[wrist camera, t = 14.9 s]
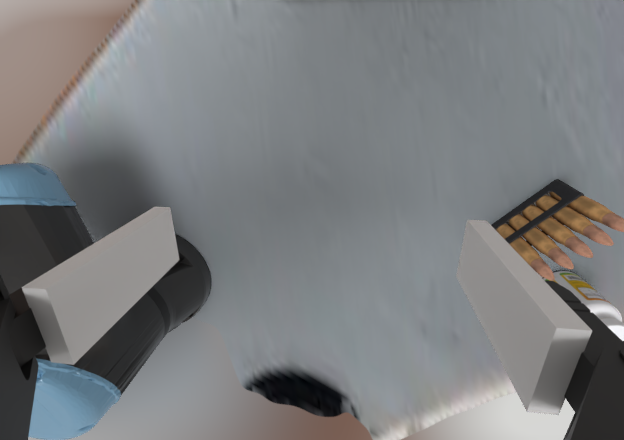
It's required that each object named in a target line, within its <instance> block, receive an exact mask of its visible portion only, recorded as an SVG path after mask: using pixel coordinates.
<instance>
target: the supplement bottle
mask: <svg viewBox="0 0 624 440" xmlns="http://www.w3.org/2000/svg"><path fill="white" fill-rule="evenodd" d="M553 274H554V278H555V280H554V282H556V283H558V284H559V285H561V286H563V287H565V288H566V289H568V290H570V291H571V292H572V293H573V294H574V295H575V296H576V297H577V298H578V299H579V300H580V301H581V303H583V304H584V305H585V306H586V307H588V308H589V309H590V312H591V313H594V314H595V315H596V316H597V317H598V318H599V319H600V320H601V321H602V322H603V323H604V324H605V325H606V326H607V327H608V328H609V329H610V330H611V331H612V332H614V333H615V334H616V335H617V336H618V337H619V338H620V339H621V340H622V341H624V323H623V322H622V317H621V314H620V312H619V311H618V310H617V309H616V308H615V307H614V306H613V305H612V304H611V303H610V302H609V301H607V300H606V299H605V298H604V297H603V296H602V295H600V294H599V293H598V292H597V291H596V290H595V289H593V288H592V287H591V286H590V285H589V284H588V283H587V282H585V281H584V280H583V279H582V278H580V277H579V276H578V275H576V274H575V273H572V272H568V271H558V272H554V273H553ZM543 280H544V281H551V280H548V279H546V278H543Z"/></svg>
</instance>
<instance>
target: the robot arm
mask: <svg viewBox="0 0 624 440" xmlns="http://www.w3.org/2000/svg"><path fill="white" fill-rule="evenodd" d="M75 206H76V203H75V201H72V200H71V199H70V197H69V195H68V194H67V192H66V190H65V189H64V187H63V185H62V184H61V182H60V180H59V179H58V177H57V175H56V174H55V173H54V172H53V171H52V170H51V169H49V168H48V167H46V166H43V165H40V164H36V163H17V164H6V165H0V440H28V437H33V438H37V439H44V440H65V439H71V438H74V437H78V436H80V435H82V434H84V433H86V432H88V431H89V430H90V429H92V428H93V427H94V426H95V425H96V424H97V423H98V421H99V420H100V419H101V418H102V417H103V416H104V414H105V413H106V412H107V411H108V410H109V409H110V408H111V406H112V405H113V404H115V403H116V402H117V401H118V400H119V398H120V397H121V395H122V393H123V392H124V391H125V389H126V388H127V386H128V385H129V384H130V382H131V381H132V380H133V378H134V377H135V376H136V374H137V373H138V372H139V370H140V369H141V368H142V366H143V365H144V364H145V362H146V361H147V359H148V358H149V357H150V355H151V354H152V353H153V351H154V350H155V348H156V347H157V346H158V345H159V343H160V342H161V340H162V339H163V338H164V337H165V335H166V334H167V333H168V332H170V331H171V330H173V329H175V328H176V327H178V326H179V325H180V324H181V323H183V322H185V321H187V320H189V319H190V318H192V317H193V316H194V315H195V314H196V313H197V312H198V311H199V310H200V309H201V307H202V306H203V304H204V303H205V302H206V300H207V298H208V296H209V293H210V289H211V277H210V273H209V270H208V267H207V265H206V263H205V261H204V259H203V258H202V256H201V255H200V254H199V252H198V251H197V250H196V249H195V248H194V247H193V246H192V245H191V244H190V243H188V242H187V241H185V240H184V239H182V238H181V237H179V236H177V235H175V231H174V226H173V220H172V214H171V209H170V207H153V208H152V209H150V210H148V211H147V212H145V213H143V214H142V215H140V216H138V217H137V218H135V219H134V220H132V221H130V222H129V223H127V224H125V225H124V226H122V227H120V228H119V229H117V230H115V231H114V232H112V233H110V234H109V235H107V236H105V237H104V238H102V239H101V240H99V241H97V242H96V243H94V242H93V241H92V239H91V237H90V235H89V233H88V231H87V229H86V227H85V225H84V223H83V221H82V219H81V218H80V216H79V214H78V212H77V210H76V208H75ZM456 277H457V279H458V281H459V283H460V285H461V287H462V288H463V290H464V292H465V294H466V296H467V298H468V300H469V302H470V304H471V306H472V308H473V309H474V311H475V313H476V315H477V317H478V319H479V321H480V323H481V325H482V327H483V329H484V330H485V332H486V334H487V336H488V338H489V340H490V342H491V344H492V346H493V348H494V350H495V351H496V353H497V355H498V357H499V359H500V361H501V363H502V365H503V367H504V369H505V371H506V372H507V374H508V376H509V378H510V380H511V382H512V384H513V386H514V388H515V390H516V392H517V393H518V395H519V397H520V399H521V401H522V403H523V405H524V407H525V409H526V411H527V412H534V413H544V414H553V415H559V412H560V410H561V407H562V405H563V403H564V400H565V398H566V399H567V401H568V402H569V404H570V405H571V407H572V408H573V410H574V411H575V414H574V417H573V419H572V421H571V423H570V426H569V428H568V430H567V433H566V435H565V438H564V440H624V341H622V340H621V339H620V338H619V337H618V336H617V335H616V334H615V333H614V332H612V331H611V330H610V329H609V328H608V327H607V326H606V325H605V324H604V323H603V322H602V321H601V320H600V319H599V318H598V317H597V316H596V315H595V314H594V313H591V312H590V309H589V308H588V307H586V306H585V305H584V304H583V303H581V301H580V300H579V299H578V298H577V297H576V296H575V295H574V294H573V293H572V292H571V291H570V290H568V289H566V288H565V287H563V286H561V285H559V284H558V283H556V282H554V281H544V280H543V279H542V278H541V277H540V276H539V275H538V274H537V273H536V272H535V270H534V269H533V268H532V267H531V266H530V265H529V264H528V263H527V262H526V261H525V260H524V259H523V258H522V257H521V256H520V255H519V254H518V253H517V252H516V251H515V250H514V249H513V248H512V247H511V246H510V244H509V243H508V242H507V241H506V240H505V239H504V238H503V237H502V236H501V235H500V234H499V233H498V232H497V231H496V230H495V229H494V228H493V227H492V226H491V225H490V224H489V223H488V222H487V221H483V220H467V224H466V229H465V234H464V239H463V244H462V250H461V255H460V260H459V265H458V271H457V276H456Z"/></svg>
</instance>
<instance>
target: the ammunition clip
mask: <svg viewBox="0 0 624 440" xmlns="http://www.w3.org/2000/svg"><path fill="white" fill-rule="evenodd" d="M581 214H582V215H581ZM583 215H584V216H585V217H584V216H583ZM551 216H552V217H553V218H552V217H551ZM586 217H587V218H589V219H591V220H593V221H597V222H600V223H602V224H604V225H606V226H608V227H610V228H612V229H615V230H618V231H621V232H624V219H623V218H622V217H620V216H618V215H616V214H615V213H613V212H612V211H610V210H609V209H608V208H606V207H605V206H604V205H602V204H600V203H598V202H596V201H594V200H592V199H590V198H588V197H586V196H584V194H583V193H581V192H579V191H577V190H576V189H574V188H572V187H570V186H569V185H567V184H565V183H564V182H562V181H560V180H558V179H557V180H554V181H553V182H551V183H550V184H549V185H547V186H546V187H544V188H543V189H541V190H540V191H539V192H537V193H536V194H534V195H533V196H532V197H530V198H529V199H527V200H526V201H525V202H523V203H522V204H520V205H519V206H518V207H516V208H515V209H513V210H512V211H510V212H509V213H508V214H506V215H505V216H503V217H502V218H501V219H499V220H498V221H496V222H495V223H494V224H492V225H491V226H492V227H493V228H494V229H495V230H496V231H497V232H498V233H499V234H500V235H501V236H502V237H503V238H504V239H505V240H506V241H507V242H508V243H509V244H510V246H511V247H512V248H513V249H514V250H515V251H516V252H517V253H518V254H519V255H520V256H521V257H522V258H523V259H524V260H525V261H526V262H527V263H528V264H529V265H530V266H531V267H532V268H533V269H534V270H535V271H536V272H537V273H538V274H540V275H541V276H542V277H544V278H546V279H548V280H551V281H554V280H555V278H554V274H553V272H552V271H551V269H550V268H549V266H548V265H547V264H546V263H545V262H544V261H543V259H542V258H541V257H540V256H539V254H538V253H537V251H536V250H535V249H534V248H533V247H531V246H532V245H533V246H534V247H535V248H536V249H537V250H538V251H540V252H541V253H543V254H545V255H546V256H548V257H549V258H551V259H552V260H553V261H554V262H556V263H557V264H559V265H560V266H562V267H565V268H568V269H573V268H574V266H573V263H572V262H571V260H570V258H569V257H568V256H567V255H566V254H565V253H564V252H563V251H562V250H561V249H560V248H559V247H558V246H557V245H556V244H555V242H554V241H553V240H552V239H554V240H555V241H556V242H558V243H561V244H563V245H564V246H566V247H567V248H569V249H571V250H572V251H574V252H575V253H577V254H579V255H582V256H584V257H588V258H592V257H593V253H592V251H591V250H590V248H589V247H588V246H587V245H586V244H585V243H584V242H583V241H581V240H580V239H579V238H578V237H576V236H575V235H574V234H573V233H572V231H571V230H573V231H575V232H578V233H580V234H582V235H584V236H586V237H588V238H589V239H591V240H593V241H595V242H598V243H600V244H604V245H608V246H612V245H613V241H612V239H611V238H610V237H609V236H608V235H607V234H606V233H605V232H604V231H603V230H601V229H600V228H598V227H597V226H596V225H594V224H593V223H591V222H590V221H589V220H588V219H587V218H586ZM554 218H555V219H556V220H555V219H554ZM564 225H565V226H567V227H568V228H570V229H571V230H569V229H568V228H567V227H565V226H564ZM536 226H537V227H538V228H539V229H541V230H542V231H541V230H539V229H538V228H537V227H536ZM547 235H548V236H550V237H551V238H552V239H550V238H549V237H548V236H547ZM521 236H523V237H524V238H525V239H526V240H527V241H525V240H524V239H523V238H522V237H521Z"/></svg>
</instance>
